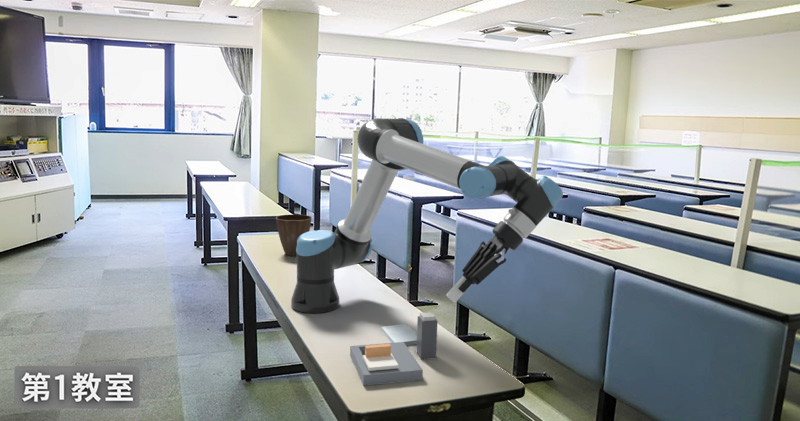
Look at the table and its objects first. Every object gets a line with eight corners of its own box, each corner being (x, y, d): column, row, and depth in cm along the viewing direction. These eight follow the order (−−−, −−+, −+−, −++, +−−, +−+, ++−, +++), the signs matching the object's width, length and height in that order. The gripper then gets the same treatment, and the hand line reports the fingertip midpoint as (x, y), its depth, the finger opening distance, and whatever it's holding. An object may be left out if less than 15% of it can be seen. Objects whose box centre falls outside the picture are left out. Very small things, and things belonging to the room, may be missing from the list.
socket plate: (350, 355, 149) (350, 346, 149) (403, 350, 153) (403, 341, 152) (363, 385, 133) (363, 375, 133) (422, 379, 137) (422, 369, 136)
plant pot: (272, 251, 255) (272, 215, 252) (306, 248, 261) (306, 213, 259) (280, 259, 242) (280, 221, 239) (315, 256, 248) (315, 219, 245)
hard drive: (423, 339, 158) (407, 323, 170) (394, 342, 155) (380, 326, 167) (423, 345, 158) (407, 329, 170) (394, 348, 156) (380, 331, 167)
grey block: (416, 353, 152) (417, 312, 150) (431, 352, 153) (432, 311, 151) (420, 359, 148) (422, 317, 146) (436, 358, 149) (437, 316, 147)
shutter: (362, 358, 141) (363, 345, 140) (391, 356, 143) (391, 343, 142) (368, 370, 134) (369, 357, 134) (398, 368, 136) (398, 355, 135)
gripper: (493, 214, 153) (433, 282, 153) (513, 225, 140) (446, 298, 141) (513, 233, 155) (453, 299, 155) (533, 245, 142) (468, 317, 143)
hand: (450, 298), depth 148 cm, fingers closed
